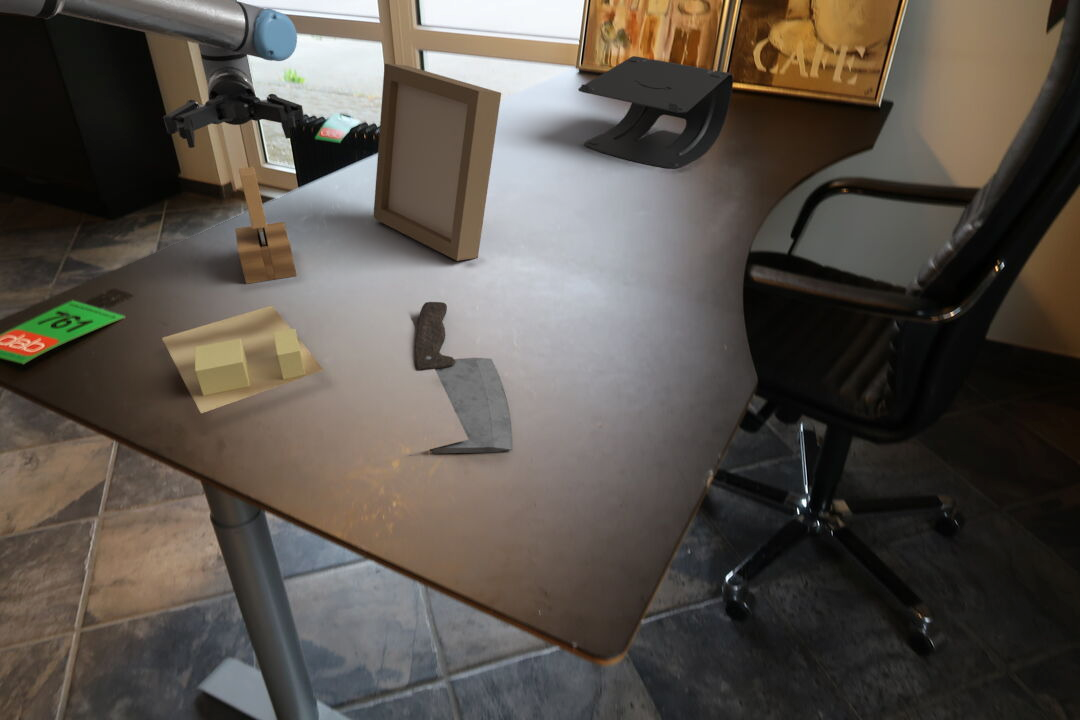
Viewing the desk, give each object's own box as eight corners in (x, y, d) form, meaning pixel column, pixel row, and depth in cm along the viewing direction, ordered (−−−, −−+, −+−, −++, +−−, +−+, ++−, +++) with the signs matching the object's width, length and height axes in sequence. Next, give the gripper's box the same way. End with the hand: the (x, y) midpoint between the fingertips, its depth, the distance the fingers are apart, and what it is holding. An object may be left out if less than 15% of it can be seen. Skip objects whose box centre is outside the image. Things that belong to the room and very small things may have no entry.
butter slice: (278, 356, 85) (273, 332, 83) (300, 352, 86) (295, 328, 84) (283, 379, 81) (277, 355, 79) (305, 375, 82) (300, 350, 80)
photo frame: (457, 266, 108) (447, 98, 93) (373, 223, 120) (353, 69, 105) (525, 237, 117) (525, 79, 102) (441, 199, 129) (431, 54, 114)
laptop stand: (727, 144, 157) (740, 71, 148) (675, 173, 142) (686, 94, 133) (630, 121, 169) (636, 53, 161) (572, 146, 154) (576, 71, 145)
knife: (260, 259, 109) (238, 164, 100) (274, 257, 109) (253, 163, 101) (264, 276, 104) (240, 179, 95) (278, 274, 105) (256, 177, 96)
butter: (202, 371, 82) (194, 346, 80) (247, 362, 84) (240, 338, 82) (203, 396, 79) (194, 371, 77) (250, 386, 80) (243, 361, 78)
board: (164, 347, 89) (161, 337, 88) (274, 314, 96) (272, 305, 95) (204, 423, 77) (200, 413, 76) (326, 379, 84) (324, 369, 83)
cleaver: (406, 315, 96) (405, 302, 94) (477, 307, 98) (477, 294, 96) (429, 465, 73) (427, 450, 71) (521, 451, 74) (521, 436, 73)
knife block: (242, 258, 109) (235, 228, 106) (290, 250, 111) (284, 221, 108) (246, 284, 102) (238, 253, 99) (296, 275, 104) (290, 245, 102)
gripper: (311, 112, 126) (329, 149, 110) (158, 126, 118) (153, 168, 102) (304, 68, 122) (321, 100, 106) (145, 79, 114) (137, 115, 98)
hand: (239, 133), depth 104 cm, fingers open, 13 cm apart
